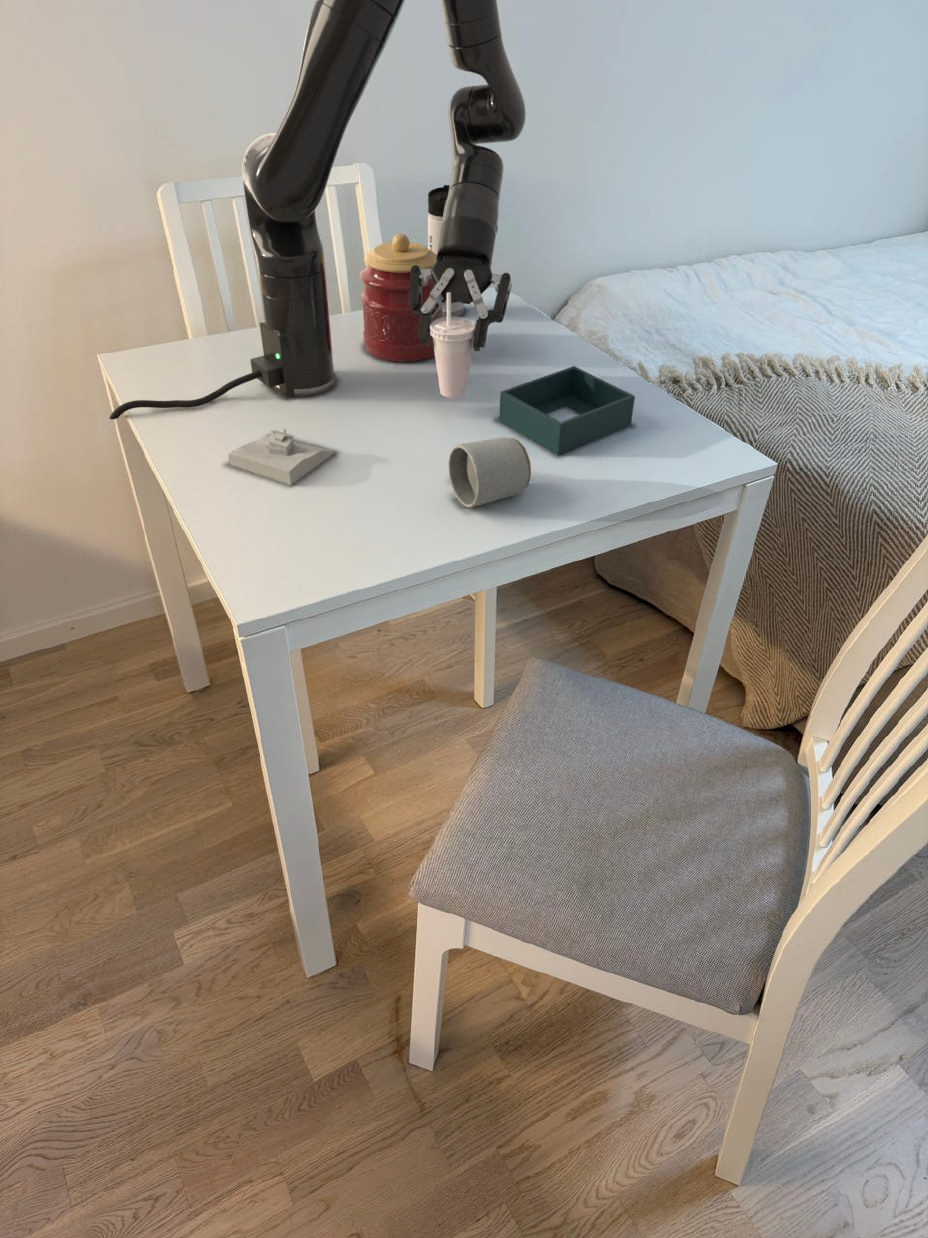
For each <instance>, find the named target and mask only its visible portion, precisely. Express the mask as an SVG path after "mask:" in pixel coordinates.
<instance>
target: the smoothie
mask: <svg viewBox="0 0 928 1238" xmlns="http://www.w3.org/2000/svg"><path fill="white" fill-rule="evenodd" d="M475 327H476V322H474V321H473V320H472V319H470V318H466V317H462V316H458V317H452V316H451V293H450V292H448V293H447V317H443V318H439V319H436V320H434V321H433V322H432V323H431V324H430V335H431V336H432V338H433V346H434V352H435V355H434V359H435V365H436V374H437V380H438V387H439V393H440V395H441V396H443V397H445V398H450V399H451V398H452V399H454V398H456V399H457V398H461V397H463V396H465V395H466V393H467V388H468V381H469V374H470V366H471V359H472V354H473V353H472V352H473V340H474V333H475Z"/></svg>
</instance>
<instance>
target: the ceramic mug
mask: <svg viewBox="0 0 928 1238" xmlns="http://www.w3.org/2000/svg"><path fill="white" fill-rule="evenodd" d="M448 475H449V480H450V483H451V488H452V491H453V493H454V495H455V497H456V499H457V500H458V501H459V503H460V504H461V505H463V506H464V507H465V508H469V509H470V508H476V507H478V506H482V505H486V504H490V503H493V502H496V501H500V500H503V499H507V498H510V497H514V496H517V495H519V494H521V493H522V492H524V491H525V490H526V489H527V488H528V486H529V484H530V481H531V476H532V466H531V460H530V457H529V454H528V452H527V449H526V448H525V446H524V444H522V442H520V440H518V439H516V438H514V437H495V438H490V439H485V440H478V441H474V442H466V443H459V444H457V445H455V446H454V447H452V449H451V451H450V453H449V457H448Z"/></svg>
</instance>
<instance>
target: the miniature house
mask: <svg viewBox="0 0 928 1238" xmlns="http://www.w3.org/2000/svg"><path fill="white" fill-rule="evenodd" d="M282 430H283V432H282V431H279V430H276V429H273V430H271V433H270V435H268V436H264V437H261V438H259V439H257V440H254V441H252V442H249V443H246V444H244V445H241V446H239V447H237V448H235V449H234V450H232V451H230V452H229V453H227V456H228V462H229V465H230V466H233V467H236V468H239V469H242V470H244V471H248V472H250V473H253V474H256V475H259V476H262V477H265V478H268V479H271V480H275V481H278V482H280V483H283V484H286V485H289V486H292V485H293V484H295V483H296V482H298V481H299V480H301V478H303V477H304V476H305V475H307V474H308V473H309V472H311V471H313V470H314V469H316V467H318V466H319V465H320V464H322V463H323V462H325V461H326V460H327V459H328V458H330V457H331V456H333V455H334V454H335V450H331V449H325V448H322V447H317V446H313V445H309V444H304V443H301V442H297V441H295V439H294V435H292V434H288V433H287V429H286V428H283V429H282Z"/></svg>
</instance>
